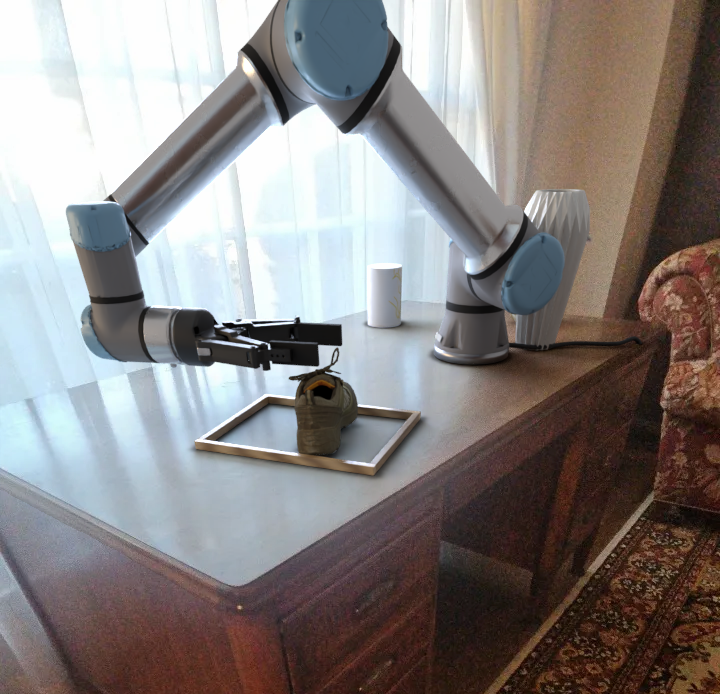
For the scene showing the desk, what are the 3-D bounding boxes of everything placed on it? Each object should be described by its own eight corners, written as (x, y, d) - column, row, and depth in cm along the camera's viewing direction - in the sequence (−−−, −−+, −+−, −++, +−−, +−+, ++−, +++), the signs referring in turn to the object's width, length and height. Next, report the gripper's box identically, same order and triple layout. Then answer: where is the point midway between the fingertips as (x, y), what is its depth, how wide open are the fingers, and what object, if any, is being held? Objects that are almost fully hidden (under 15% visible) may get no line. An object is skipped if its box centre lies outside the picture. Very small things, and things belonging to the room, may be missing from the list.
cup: (398, 328, 137) (399, 269, 129) (364, 327, 138) (364, 268, 130) (402, 320, 143) (404, 263, 135) (371, 319, 144) (370, 262, 136)
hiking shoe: (362, 406, 94) (355, 325, 86) (341, 459, 79) (330, 368, 71) (312, 408, 95) (300, 329, 87) (282, 460, 81) (265, 371, 73)
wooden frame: (420, 418, 92) (421, 411, 91) (373, 475, 76) (373, 467, 76) (266, 400, 100) (265, 393, 99) (195, 449, 84) (194, 441, 83)
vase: (577, 351, 119) (612, 191, 102) (517, 356, 117) (542, 193, 100) (549, 335, 129) (576, 187, 112) (493, 340, 127) (512, 189, 110)
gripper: (223, 345, 94) (353, 352, 89) (150, 387, 78) (304, 399, 73) (214, 292, 89) (352, 296, 84) (134, 326, 73) (299, 334, 68)
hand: (330, 344), depth 78 cm, fingers open, 9 cm apart
